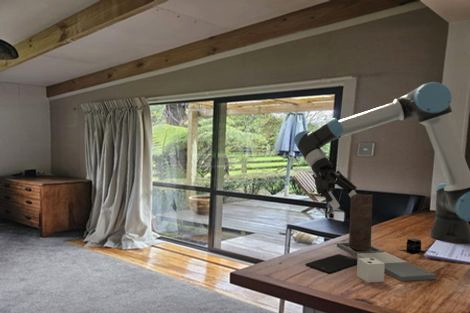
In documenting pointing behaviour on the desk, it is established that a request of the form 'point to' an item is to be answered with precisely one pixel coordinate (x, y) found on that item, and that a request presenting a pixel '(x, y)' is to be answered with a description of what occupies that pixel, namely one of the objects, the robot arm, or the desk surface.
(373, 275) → the die
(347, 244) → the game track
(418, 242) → the black chunky piece
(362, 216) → the candle
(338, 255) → the cell phone
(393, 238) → the desk surface
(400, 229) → the desk surface
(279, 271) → the desk surface
